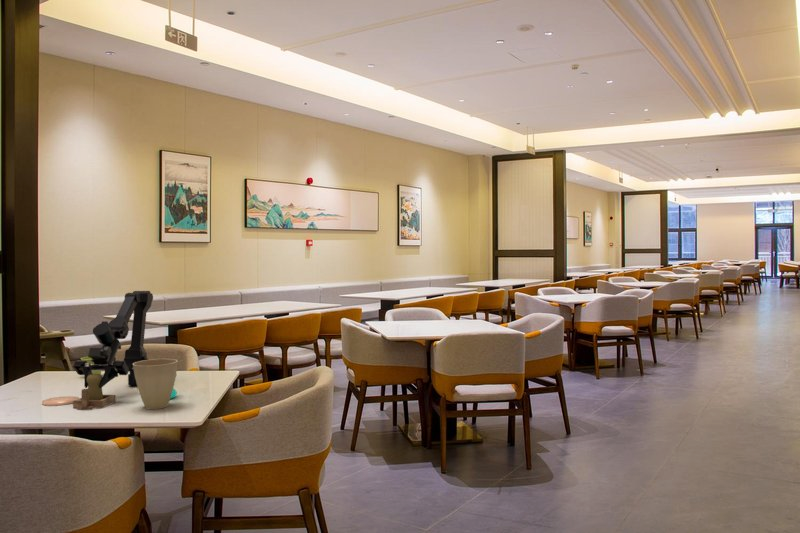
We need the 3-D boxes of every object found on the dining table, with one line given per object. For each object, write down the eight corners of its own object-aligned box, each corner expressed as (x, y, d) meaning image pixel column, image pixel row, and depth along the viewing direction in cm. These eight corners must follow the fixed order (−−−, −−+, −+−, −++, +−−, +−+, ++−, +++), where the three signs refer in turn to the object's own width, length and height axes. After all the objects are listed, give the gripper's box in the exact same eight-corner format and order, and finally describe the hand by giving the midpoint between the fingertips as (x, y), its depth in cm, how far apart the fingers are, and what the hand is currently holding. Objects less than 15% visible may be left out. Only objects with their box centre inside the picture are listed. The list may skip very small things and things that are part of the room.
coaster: (78, 397, 238) (78, 395, 238) (79, 403, 227) (79, 401, 227) (42, 400, 233) (42, 398, 232) (41, 407, 222) (41, 405, 222)
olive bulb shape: (96, 407, 222) (96, 376, 222) (81, 406, 223) (81, 375, 223) (107, 403, 228) (107, 373, 228) (93, 402, 229) (92, 372, 229)
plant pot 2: (164, 400, 232) (163, 357, 232) (186, 405, 223) (186, 361, 223) (125, 407, 221) (124, 362, 221) (146, 414, 211) (146, 367, 211)
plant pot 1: (98, 378, 274) (97, 359, 274) (76, 379, 274) (76, 359, 274) (108, 374, 284) (108, 355, 283) (87, 375, 284) (87, 355, 284)
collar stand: (88, 401, 231) (88, 382, 231) (115, 401, 230) (115, 382, 230) (69, 409, 218) (69, 389, 218) (98, 409, 218) (98, 389, 218)
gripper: (74, 338, 229) (57, 374, 218) (124, 338, 229) (110, 374, 218) (86, 356, 237) (70, 392, 226) (135, 356, 237) (121, 392, 226)
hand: (92, 387), depth 224 cm, fingers closed on olive bulb shape, 5 cm apart
